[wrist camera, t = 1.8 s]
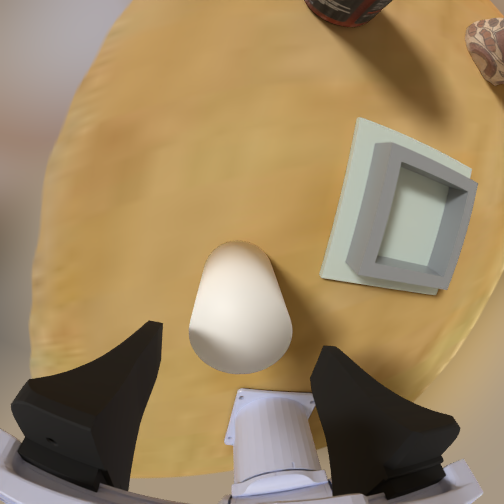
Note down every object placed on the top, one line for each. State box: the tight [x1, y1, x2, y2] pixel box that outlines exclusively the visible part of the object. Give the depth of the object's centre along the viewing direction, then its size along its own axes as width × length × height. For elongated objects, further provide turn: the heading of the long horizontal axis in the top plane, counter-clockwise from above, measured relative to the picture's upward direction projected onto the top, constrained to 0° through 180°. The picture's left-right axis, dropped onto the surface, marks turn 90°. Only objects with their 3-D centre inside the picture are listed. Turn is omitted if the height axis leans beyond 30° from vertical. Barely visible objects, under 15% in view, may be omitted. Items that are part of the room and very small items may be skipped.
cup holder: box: [319, 117, 478, 295], centre depth 19 cm, size 12×12×3 cm
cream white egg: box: [189, 241, 292, 374], centre depth 17 cm, size 5×5×8 cm
